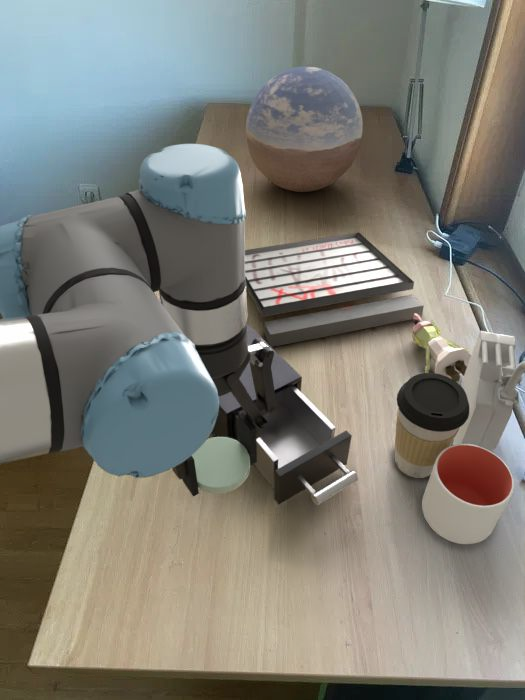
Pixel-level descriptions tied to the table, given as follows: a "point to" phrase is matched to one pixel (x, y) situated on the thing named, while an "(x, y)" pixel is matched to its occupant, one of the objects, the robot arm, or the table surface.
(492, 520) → the cup
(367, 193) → the table surface
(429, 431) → the coffee cup
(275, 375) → the cabinet
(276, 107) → the sphere
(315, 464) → the drawer
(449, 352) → the figurine
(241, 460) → the plate
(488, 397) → the jerry can
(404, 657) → the table surface
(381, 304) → the shutter
